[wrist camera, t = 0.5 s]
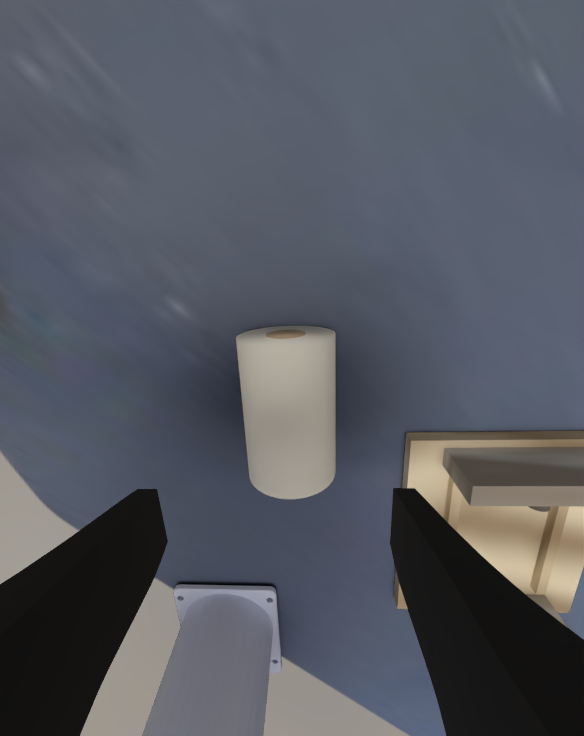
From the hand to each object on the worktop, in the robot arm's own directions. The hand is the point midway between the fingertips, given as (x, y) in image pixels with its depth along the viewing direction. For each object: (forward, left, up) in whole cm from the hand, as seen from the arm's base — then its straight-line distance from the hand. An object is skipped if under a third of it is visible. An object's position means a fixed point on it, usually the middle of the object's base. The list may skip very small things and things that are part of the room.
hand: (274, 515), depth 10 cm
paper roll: (0, 0, -10) cm, 11 cm away
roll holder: (-10, -13, -10) cm, 20 cm away
